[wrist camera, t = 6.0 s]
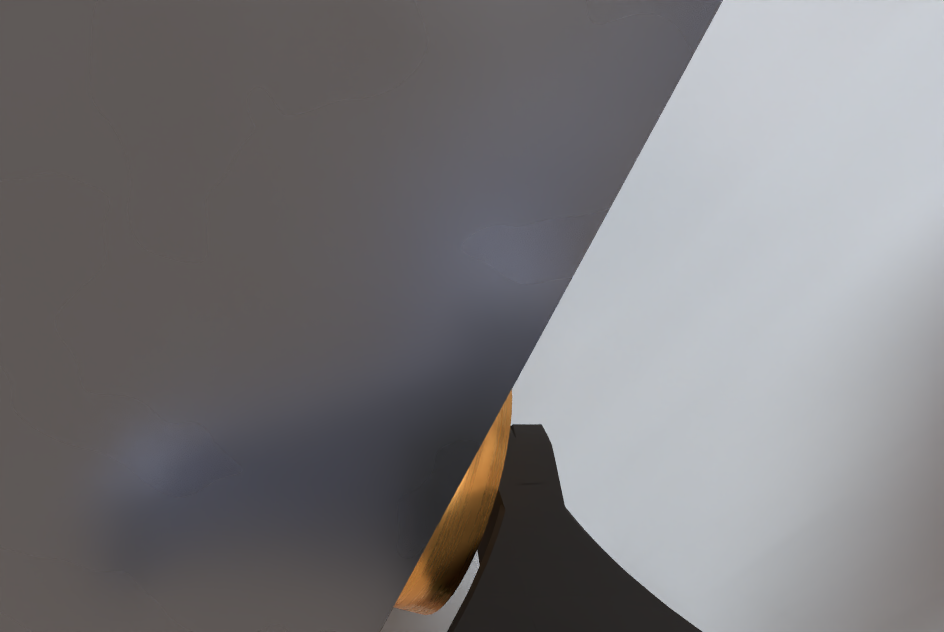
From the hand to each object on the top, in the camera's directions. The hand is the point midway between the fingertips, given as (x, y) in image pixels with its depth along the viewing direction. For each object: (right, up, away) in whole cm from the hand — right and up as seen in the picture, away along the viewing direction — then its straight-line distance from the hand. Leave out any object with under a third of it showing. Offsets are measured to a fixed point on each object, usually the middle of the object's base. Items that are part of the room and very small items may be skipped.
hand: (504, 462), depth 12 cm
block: (-5, +3, +1) cm, 6 cm away
